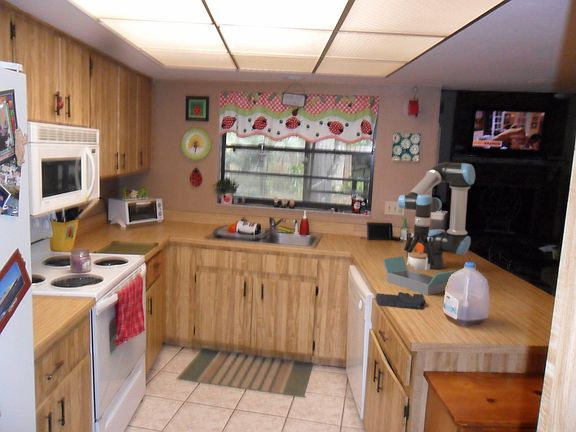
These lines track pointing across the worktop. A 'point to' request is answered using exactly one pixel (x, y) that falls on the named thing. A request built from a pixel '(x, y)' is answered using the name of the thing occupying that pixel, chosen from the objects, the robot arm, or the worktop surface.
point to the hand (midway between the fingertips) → (418, 267)
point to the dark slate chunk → (401, 300)
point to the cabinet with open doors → (414, 277)
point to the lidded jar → (417, 260)
